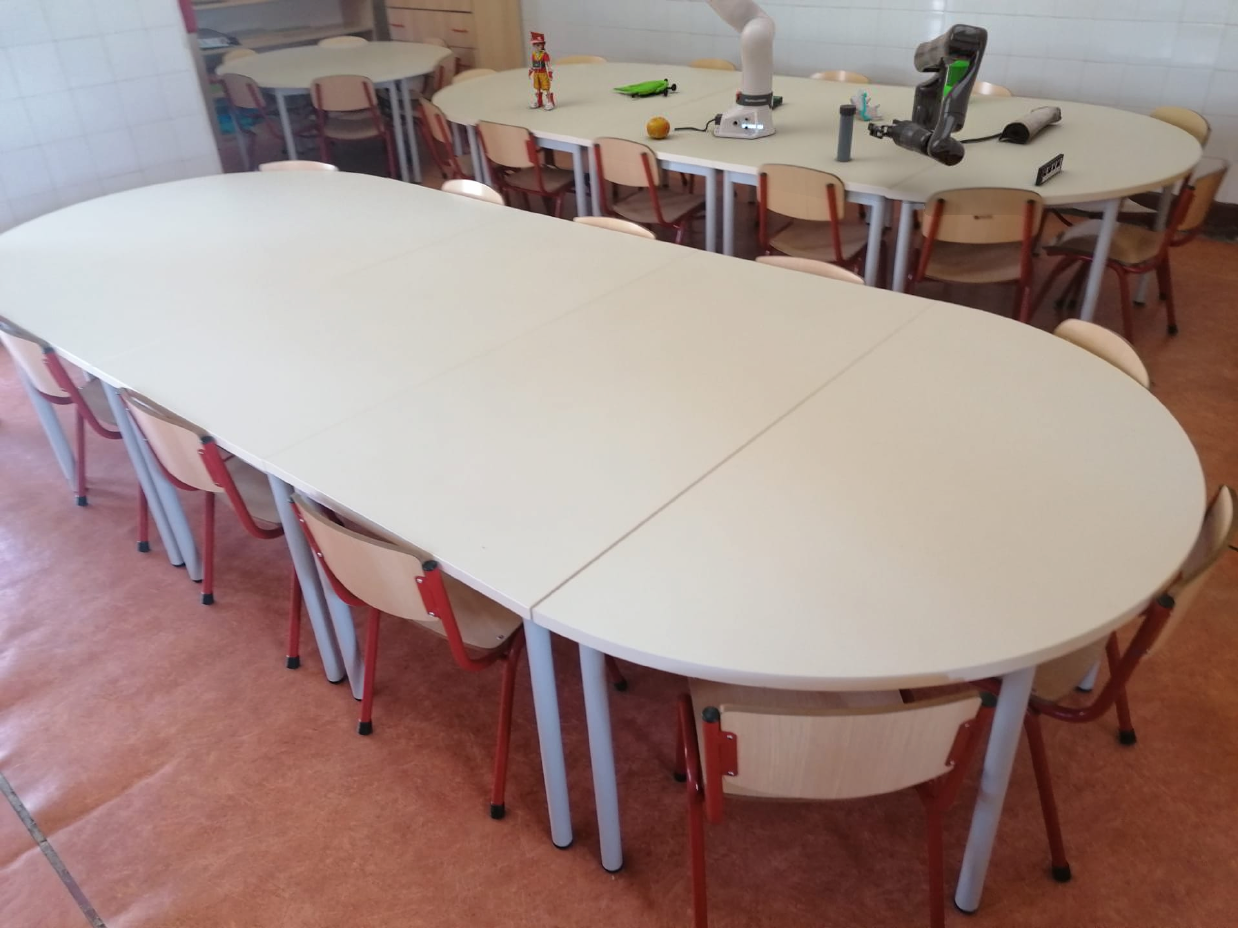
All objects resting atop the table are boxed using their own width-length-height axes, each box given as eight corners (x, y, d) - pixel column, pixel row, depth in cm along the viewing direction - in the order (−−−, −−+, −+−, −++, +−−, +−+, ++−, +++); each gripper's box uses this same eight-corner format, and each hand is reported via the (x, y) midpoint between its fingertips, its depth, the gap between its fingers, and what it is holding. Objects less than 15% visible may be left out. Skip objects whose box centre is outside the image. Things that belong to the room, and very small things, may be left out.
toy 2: (686, 85, 398) (631, 84, 414) (685, 72, 395) (629, 72, 411) (651, 104, 381) (596, 103, 397) (650, 92, 378) (594, 91, 394)
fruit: (639, 130, 331) (651, 110, 328) (647, 132, 339) (658, 113, 336) (657, 142, 330) (669, 123, 327) (664, 145, 338) (676, 126, 335)
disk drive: (768, 112, 357) (782, 103, 367) (768, 105, 355) (783, 96, 365) (744, 110, 362) (759, 101, 372) (744, 103, 360) (759, 94, 370)
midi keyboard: (1039, 185, 269) (1043, 168, 266) (1035, 184, 270) (1038, 168, 267) (1060, 170, 279) (1064, 154, 277) (1056, 169, 280) (1060, 153, 277)
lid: (836, 113, 293) (836, 106, 292) (849, 111, 295) (850, 103, 294) (845, 116, 290) (846, 109, 288) (858, 114, 291) (859, 106, 290)
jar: (833, 159, 302) (838, 107, 292) (844, 157, 303) (849, 105, 294) (841, 162, 298) (846, 110, 289) (852, 160, 300) (857, 108, 290)
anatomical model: (845, 89, 345) (871, 82, 345) (847, 116, 351) (873, 109, 351) (856, 98, 333) (883, 91, 332) (859, 126, 339) (885, 119, 338)
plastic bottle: (973, 101, 354) (984, 32, 339) (955, 106, 349) (966, 36, 335) (952, 97, 361) (962, 29, 346) (934, 102, 356) (944, 33, 342)
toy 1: (525, 109, 381) (517, 32, 364) (534, 104, 388) (527, 28, 371) (550, 110, 377) (543, 32, 360) (559, 105, 384) (553, 28, 367)
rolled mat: (1028, 111, 326) (1053, 93, 318) (1042, 132, 326) (1067, 115, 318) (994, 134, 309) (1019, 116, 300) (1008, 156, 309) (1034, 139, 301)
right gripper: (934, 120, 263) (902, 108, 276) (892, 126, 259) (862, 114, 272) (930, 146, 267) (899, 134, 280) (889, 153, 264) (859, 140, 277)
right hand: (881, 124), depth 276 cm, fingers open, 8 cm apart
